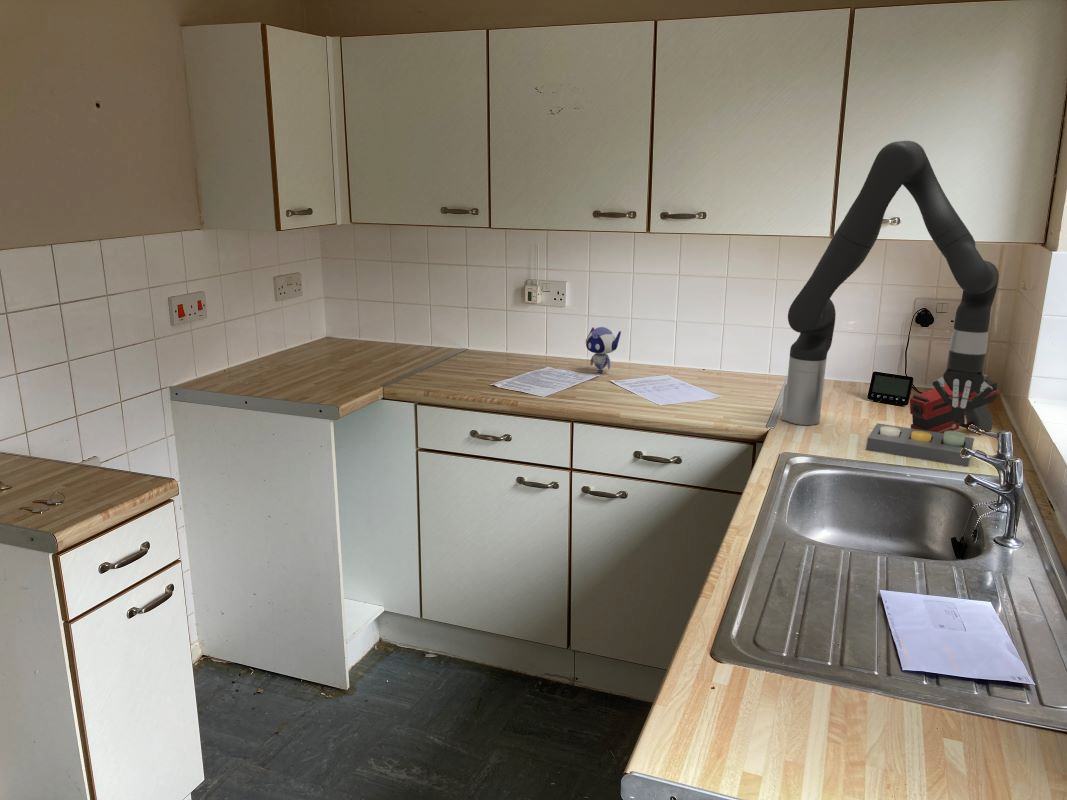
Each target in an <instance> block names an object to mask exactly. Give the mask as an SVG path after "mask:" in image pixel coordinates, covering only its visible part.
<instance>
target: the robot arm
mask: <svg viewBox="0 0 1067 800" xmlns="http://www.w3.org/2000/svg"><path fill="white" fill-rule="evenodd" d="M902 186H903V187H905V189H906V190H907V191H908V192H909V193H910V195H911V197H912V198H913V199H914V201H915V202H916V203H915V204H916V205H917V207H918V209H919V211H920V214H921V217H922V220H923V223H924V225H925V229H926V230H927V233H928V234H929V236H930V238H931V239H932V241H933V243H934V244H935V245H936V247H937V249H938V250H939V251H940V254H941V255H942V256H943V257H944V259H946V260H945V261H946V263H947V265H948V267H949V269H950V271H951V273H952V275H953V276H952V277H954V279H955V281H956V282H957V284H958V285H959V287H960V288H961V289H962V295H961V300H960V303H959V305H958V307H957V308H956V312H955V318H954V323H953V330H952V334H951V338H950V343H949V349H948V357H947V362H946V370H945V371H944V372H943V374H942V376H941V377H939V378H936V379H934V380H933V382H932V385H933V387H934V389H936V390H937V392H938V393H939V395H940V396H941V398H942V399H943V401H944V402H945V403H946V404H950V405H951V406H952V410H951V417H950V418H951V420H953V423H956V422H957V423H960V421H963V420H964V417H965V418H966V415H965V410H966V408H967V407H974V406H975V405H976V404H978V403H979V402H980V401H981V400H982V399H984V398H985V397H986V396H987V395H988V394H990V393H991V392H992V389H993V388H992V386H989V385H988V384H987V383H986V382H984V376H983V374H984V367H985V361H986V356H987V355H986V354H987V350H988V344H989V343H988V342H989V341H988V339H989V338H988V337H989V328H990V321H991V312H992V306H993V303H994V301H995V296H996V294H997V289H998V284H999V278H1000V274H999V270H998V268H997V266H996V265H995V264H994V263H992V262H991V261H989V260H988V261H987V260H984V258H983V257H982V255H981V254H980V253H979V251H978V249H977V247H976V240H975V238H974V236H973V235H972V233H971V232H970V230H969V229H968V227H967V226H966V224H965V223H964V222H963V220H962V219H961V217H960V216H959V214H958V213H957V212H956V210H955V208H954V207H953V205H952V203H951V202H950V200H949V198H948V197H947V196H946V194H945V192H944V190H943V188H942V186H941V184H940V183H939V180H938V177H937V176H936V174H935V172H934V169H933V167H932V165H931V163H930V160H929V158H928V156H927V153H926V151H925V149H924V148H923V146H922V145H920V144H919V143H918V142H916V141H912V140H899V141H892V142H890V143H888V144H886V145H885V146H883V147H882V148H881V149H880V150H879V152H878V153H877V155H876V157H875V159H874V160H873V163H872V165H871V168H870V169H869V172H868V174H867V177H866V178H865V181H864V183H863V186H862V187H861V190H860V191H859V192H858V195H857V197H856V198H855V200H854V201H853V203H852V204H851V206H850V207H849V210H848V211H847V213H846V215H844V216H845V217H844V218H843V220H842V221H841V223H840V224H839V225H838V228H837V230H836V231H835V233H834V234H833V236H832V238H831V240H830V242H829V244H828V245H827V247H826V249H825V251H824V252H823V255H822V256H821V258H820V260H819V262H818V263H817V265H816V267H815V268H814V270H813V273H812V274H811V275H810V277H809V279H808V280H807V282H806V283H805V284H804V286H803V287H802V289H801V290H800V291H799V293H798V294H797V295H796V297H795V298H794V300H793V301H792V302H791V304H790V307H789V308H788V311H787V320H788V325H789V326H790V328H791V329H792V331H794V332H797V333H799V336H798V337H797V339H796V340H795V341H794V342H793V344H791V346H790V350H789V357H788V358H789V360H788V370H787V380H786V384H784V388H783V389H784V390H783V396H782V397H783V399H782V406H781V407H782V409H781V418H780V419H781V421H785V422H787V423H790V424H795V425H802V426H814V425H818V424H819V423H820V421H821V410H822V403H823V396H824V395H823V394H824V393H823V392H824V385H825V376H826V375H825V374H826V369H827V368H826V367H827V358H828V353H829V350H830V349H831V347H832V343H833V339H834V331H835V325H836V308H835V307H836V306H835V305H834V302H833V301H832V300H831V298H832V296H833V294H834V293H835V292H836V291H837V289H838V288H839V287H840V286H841V285H842V284H843V283H844V282H845V281H846V280H848V278H849V277H851V275H853V274H854V273H855V272H856V271H857V270H858V269H859V268H860V267H861V265H862V264H863V263H864V262H865V260H866V259H867V257H868V255H869V254H870V252H871V250H872V248H873V247H874V245H875V244H876V242H877V239H878V237H879V234H880V231H881V228H882V225H883V221H884V216H885V213H886V210H887V209H888V206H889V204H890V203H891V201H892V200H893V198H894V197H895V196H896V194H897V192H899V189H901V187H902ZM945 383H946V384H945ZM944 385H948V387H949V388H950V390H951V391H953V399H952V398H950V396H949V395H948V393H947V392H946V390H945V389H944ZM980 385H981V386H982V387H981V388H980V393H979V394H978V395H977V396H975V397H974V398H973V399H972V400H969V401H968V397H969V394H970V393H972V392H974V391H975V390H976V389H977V388H978V387H979V386H980ZM960 393H963V396H962V400H961V404H960V406H958V404H959V394H960Z"/></svg>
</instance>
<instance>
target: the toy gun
mask: <svg viewBox="0 0 1067 800" xmlns="http://www.w3.org/2000/svg"><path fill="white" fill-rule="evenodd" d="M983 376H984V382H986V383H987V384H988V385H989V386H992V388H993V389H992V392H991V393H990V394H988V395H987V396H986V397H985V398H984V399H982V400H981V401H980V402H979V403H978V404H976V405H975V406H974V407H967V408H966V410H965V417H964V420H963V421H960V423H957V422H956V423H953V420H951V418H950V417H951V410H952V406H951V405H950V404H946V403H945V402H944V401H943V399H942V398H941V396H940V395H939V393H938V392H937V390H936V389H935V388H934V389H930V390H928V391H925V392H923V393H920V394H914V395H912V396H911V397H909V410H910V413H909V414H910V415H912V423H911V424H910V428H912V429H918V430H925V431H931V432H938V433H944V432H945V431H957V430H960V428H964V429H966V430H968V427H969V425H971V424H973V425H975V426H977V427H978V428H979V429H981V430H984V431H987V432H990V431H991V430H992V429H993V415H992V412H991V411H990V409H989V407H988V405H989V404H991V403H993V402H994V401H995V400H996V398H997V397H998V395H997V394H999V393H1000V390H999V389H998V387H997V386H998V383H997V382H995V381H991V380H989V379H990V378H989V374H985V373H983ZM981 387H982V386H981V385H980V386H979V387H978V388H977V389H976V390H975V391H974V392H972V393H970V394H969V397H968V401H969V400H972V399H973V398H974V397H975V396H977V395H978V394H979V393H980V388H981ZM944 389H945V390H946V392H947V393H948V395H949V396H950V398H952V399H953V391H951V390H950V388H949V387H948V385H947V384H945V385H944ZM962 396H963V393H960V394H959V404H958V406H960V404H961V400H962ZM989 430H990V431H989ZM968 431H969V430H968Z"/></svg>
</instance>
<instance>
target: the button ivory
mask: <svg viewBox="0 0 1067 800" xmlns="http://www.w3.org/2000/svg"><path fill="white" fill-rule="evenodd" d="M880 434H881V435H887V436H893V437H899V435H900V429H898V428H896V427H890V426H883V427H881V429H880Z"/></svg>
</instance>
